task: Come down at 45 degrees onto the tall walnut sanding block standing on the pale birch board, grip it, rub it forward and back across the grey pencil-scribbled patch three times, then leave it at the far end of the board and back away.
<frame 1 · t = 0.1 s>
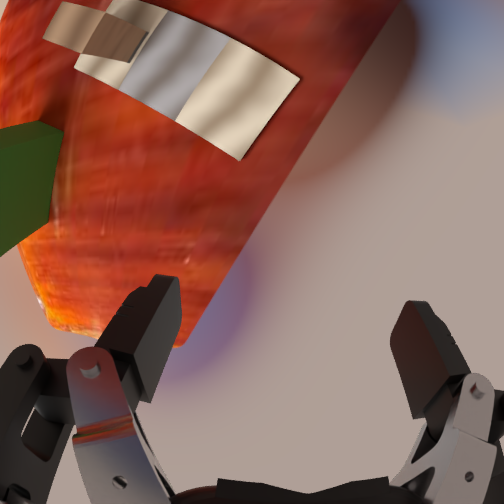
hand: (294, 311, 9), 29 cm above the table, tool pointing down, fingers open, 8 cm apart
sanding block: (118, 39, 27), point 1 cm above the table, touching board
board: (173, 63, 30), on the table
hardback book: (41, 172, 38), on the table
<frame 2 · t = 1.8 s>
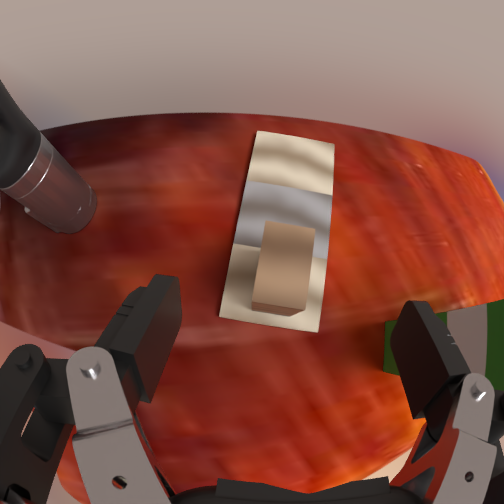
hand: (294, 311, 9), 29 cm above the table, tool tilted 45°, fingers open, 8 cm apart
sanding block: (275, 283, 37), point 1 cm above the table, touching board
board: (284, 220, 41), on the table
hardback book: (430, 342, 36), on the table
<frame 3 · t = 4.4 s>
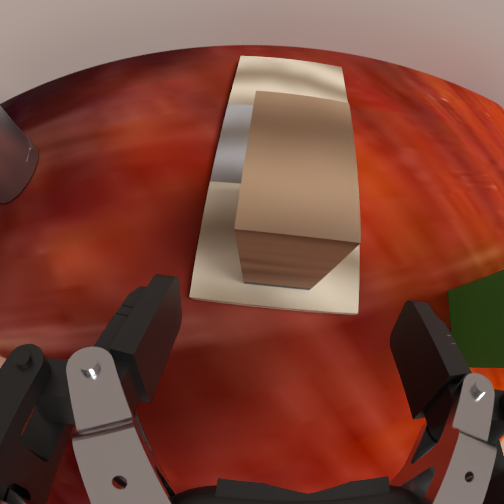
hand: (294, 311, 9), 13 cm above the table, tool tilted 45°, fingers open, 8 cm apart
sanding block: (281, 237, 22), point 1 cm above the table, touching board
board: (286, 151, 26), on the table
hardback book: (500, 317, 21), on the table
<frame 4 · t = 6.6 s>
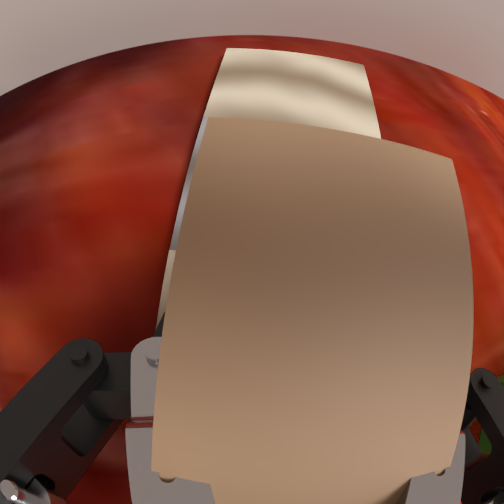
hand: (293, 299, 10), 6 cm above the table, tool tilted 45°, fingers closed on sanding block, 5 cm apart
sanding block: (277, 346, 14), point 1 cm above the table, touching board, gripper
board: (289, 192, 18), on the table
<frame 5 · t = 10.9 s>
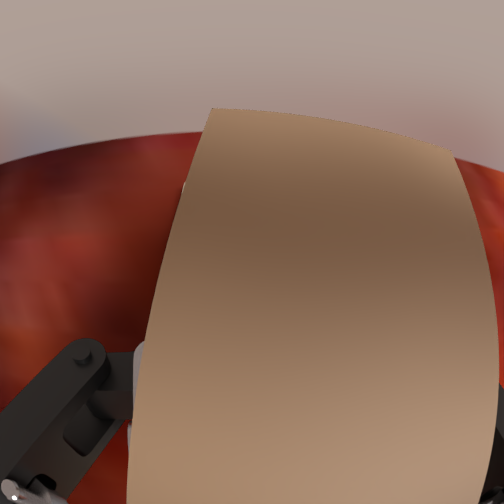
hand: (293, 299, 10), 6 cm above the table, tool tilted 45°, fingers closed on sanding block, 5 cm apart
sanding block: (275, 376, 13), point 2 cm above the table, tilted 10°, touching gripper
when the fingers open (6 cm above the table, at t = 14.7 s): sanding block stays where it is, resting on board.
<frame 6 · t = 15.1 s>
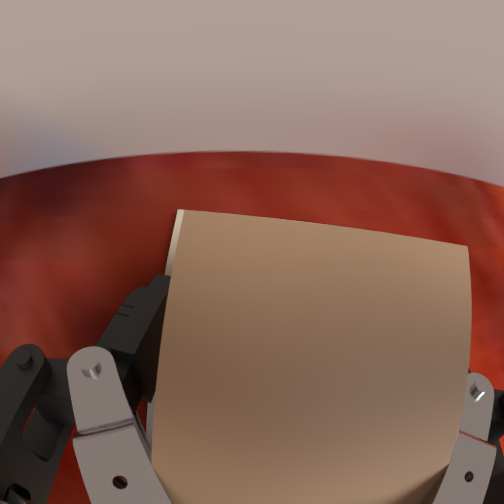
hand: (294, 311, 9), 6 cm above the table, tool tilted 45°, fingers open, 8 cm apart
sanding block: (272, 382, 14), point 1 cm above the table, touching board
board: (258, 470, 13), on the table
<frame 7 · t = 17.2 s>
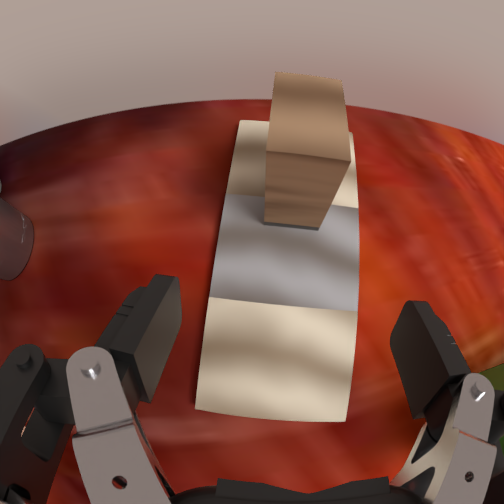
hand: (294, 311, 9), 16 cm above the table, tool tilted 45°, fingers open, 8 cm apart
sanding block: (293, 190, 27), point 1 cm above the table, touching board
board: (288, 253, 26), on the table
hardback book: (486, 398, 21), on the table
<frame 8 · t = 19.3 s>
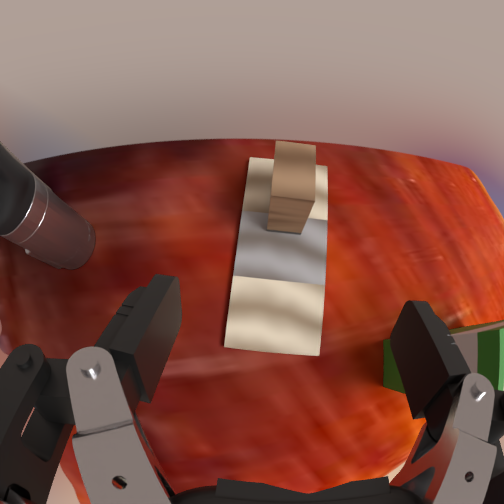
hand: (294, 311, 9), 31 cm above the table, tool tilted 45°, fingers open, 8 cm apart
sanding block: (285, 208, 43), point 1 cm above the table, touching board
board: (281, 249, 42), on the table
hardback book: (428, 355, 37), on the table
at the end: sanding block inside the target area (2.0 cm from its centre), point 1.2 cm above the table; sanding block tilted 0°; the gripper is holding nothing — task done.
